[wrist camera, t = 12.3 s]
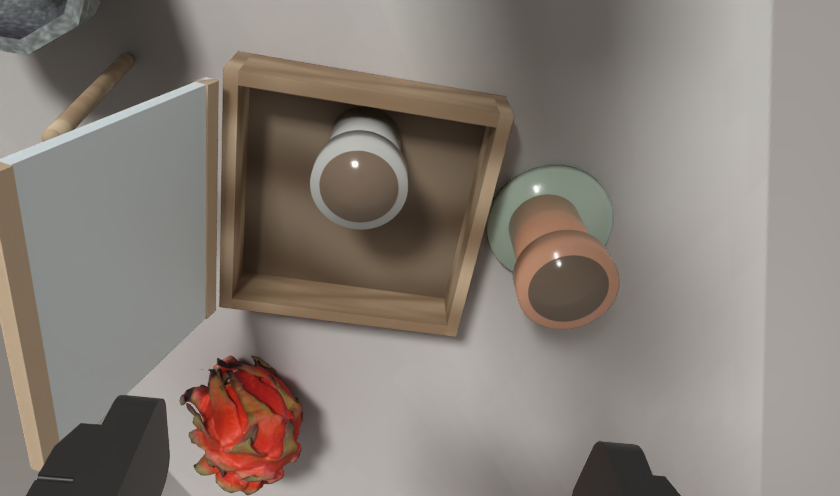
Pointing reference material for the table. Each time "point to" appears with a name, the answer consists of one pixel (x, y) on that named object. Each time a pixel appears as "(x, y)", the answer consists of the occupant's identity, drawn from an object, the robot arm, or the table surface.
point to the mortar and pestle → (40, 22)
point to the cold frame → (309, 228)
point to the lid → (106, 256)
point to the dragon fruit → (244, 425)
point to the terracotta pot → (559, 265)
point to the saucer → (555, 182)
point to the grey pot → (361, 170)
